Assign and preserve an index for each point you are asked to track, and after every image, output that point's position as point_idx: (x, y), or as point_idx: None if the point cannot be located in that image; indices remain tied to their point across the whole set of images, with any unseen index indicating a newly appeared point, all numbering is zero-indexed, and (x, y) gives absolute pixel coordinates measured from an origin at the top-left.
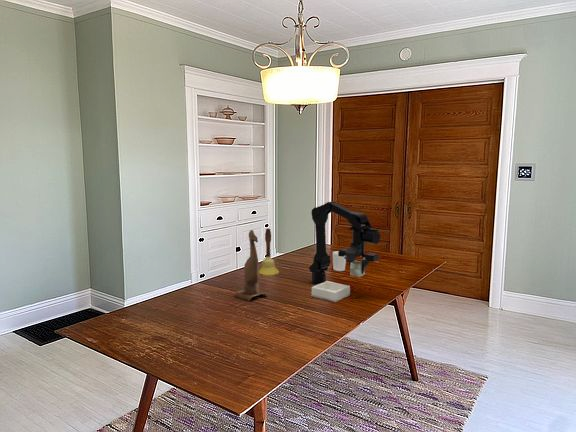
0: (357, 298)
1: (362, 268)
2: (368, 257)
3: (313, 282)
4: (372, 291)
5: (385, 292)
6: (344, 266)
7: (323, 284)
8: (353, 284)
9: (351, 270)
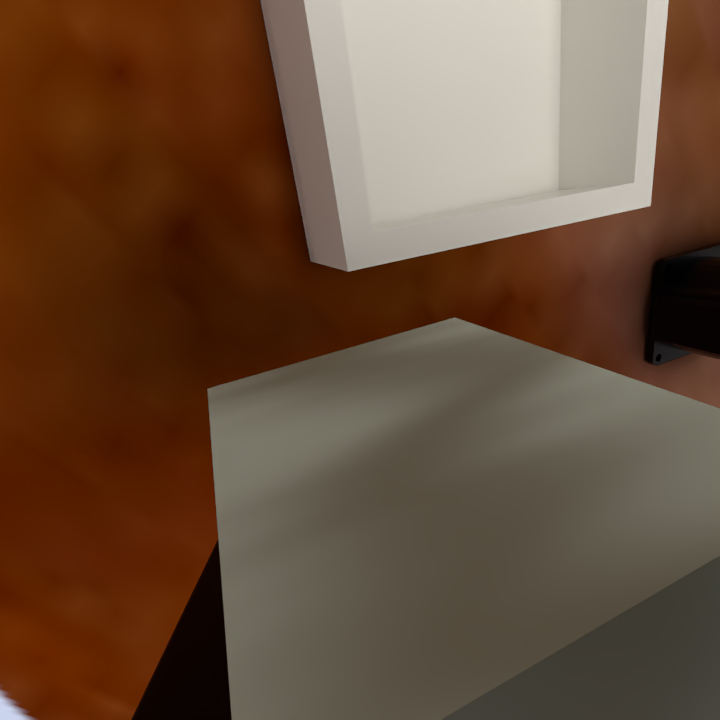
0: (162, 240)
1: (198, 673)
2: None
3: (713, 247)
4: None
5: (130, 634)
6: None
7: (628, 75)
8: None
9: (503, 356)
